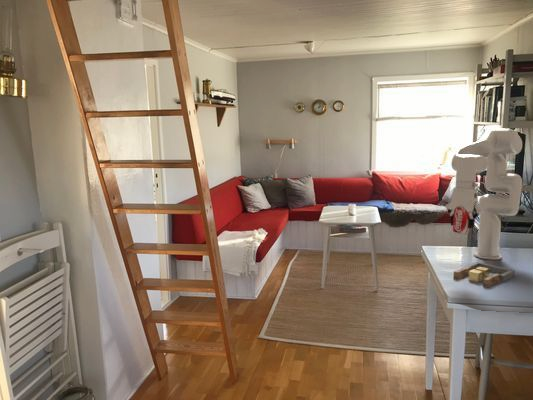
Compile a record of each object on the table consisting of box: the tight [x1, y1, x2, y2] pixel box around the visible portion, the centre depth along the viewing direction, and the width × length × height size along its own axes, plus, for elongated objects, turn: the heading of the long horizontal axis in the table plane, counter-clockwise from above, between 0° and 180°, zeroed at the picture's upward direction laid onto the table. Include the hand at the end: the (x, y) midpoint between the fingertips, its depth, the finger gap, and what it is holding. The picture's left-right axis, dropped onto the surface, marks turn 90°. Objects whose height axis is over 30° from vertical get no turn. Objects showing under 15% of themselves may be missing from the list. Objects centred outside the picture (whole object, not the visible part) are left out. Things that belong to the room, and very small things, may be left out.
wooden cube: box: [476, 267, 490, 280], centre depth 192 cm, size 4×4×4 cm
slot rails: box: [453, 265, 501, 288], centre depth 189 cm, size 12×14×3 cm
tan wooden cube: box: [468, 269, 483, 283], centre depth 188 cm, size 4×4×4 cm
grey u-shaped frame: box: [464, 261, 516, 282], centre depth 196 cm, size 12×17×2 cm
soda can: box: [452, 206, 472, 236], centre depth 189 cm, size 7×7×12 cm
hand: (462, 226), depth 190 cm, fingers closed on soda can, 7 cm apart
